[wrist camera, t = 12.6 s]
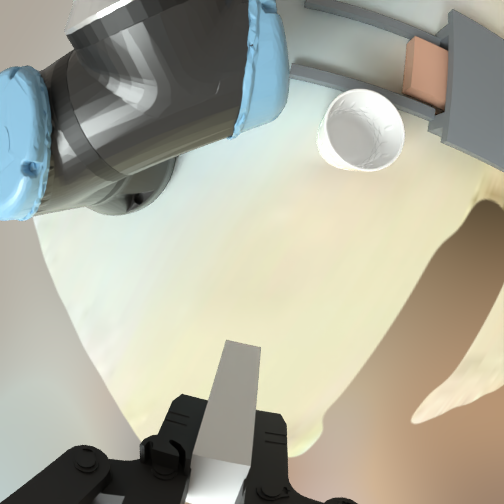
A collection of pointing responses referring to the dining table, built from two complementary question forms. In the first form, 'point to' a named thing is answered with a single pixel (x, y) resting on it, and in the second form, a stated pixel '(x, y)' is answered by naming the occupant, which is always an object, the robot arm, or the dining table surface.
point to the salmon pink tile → (426, 72)
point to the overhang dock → (458, 80)
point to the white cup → (361, 132)
